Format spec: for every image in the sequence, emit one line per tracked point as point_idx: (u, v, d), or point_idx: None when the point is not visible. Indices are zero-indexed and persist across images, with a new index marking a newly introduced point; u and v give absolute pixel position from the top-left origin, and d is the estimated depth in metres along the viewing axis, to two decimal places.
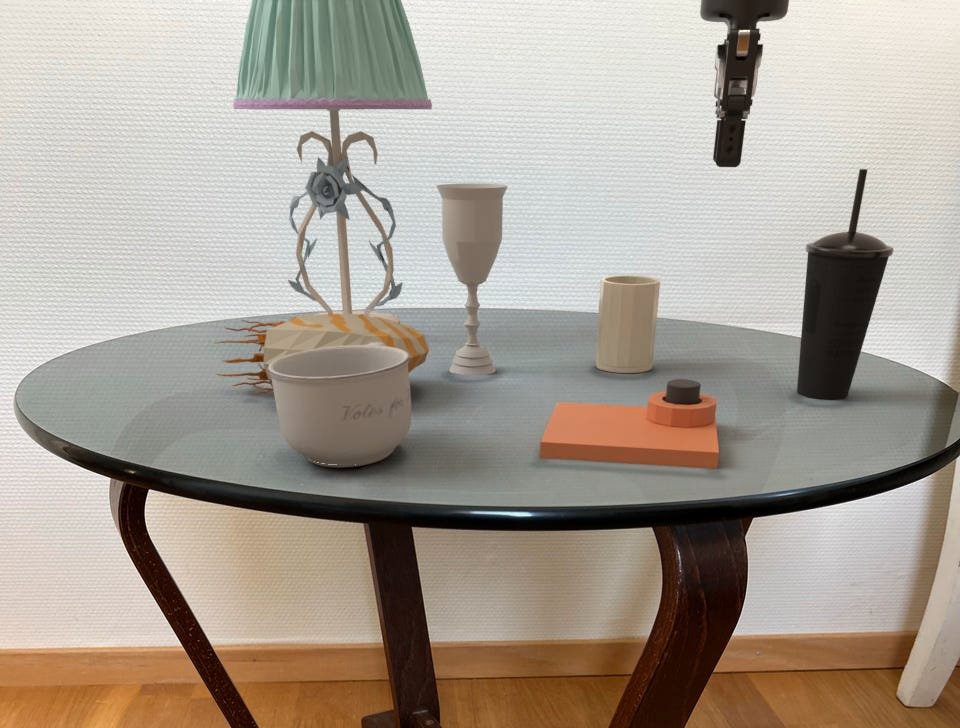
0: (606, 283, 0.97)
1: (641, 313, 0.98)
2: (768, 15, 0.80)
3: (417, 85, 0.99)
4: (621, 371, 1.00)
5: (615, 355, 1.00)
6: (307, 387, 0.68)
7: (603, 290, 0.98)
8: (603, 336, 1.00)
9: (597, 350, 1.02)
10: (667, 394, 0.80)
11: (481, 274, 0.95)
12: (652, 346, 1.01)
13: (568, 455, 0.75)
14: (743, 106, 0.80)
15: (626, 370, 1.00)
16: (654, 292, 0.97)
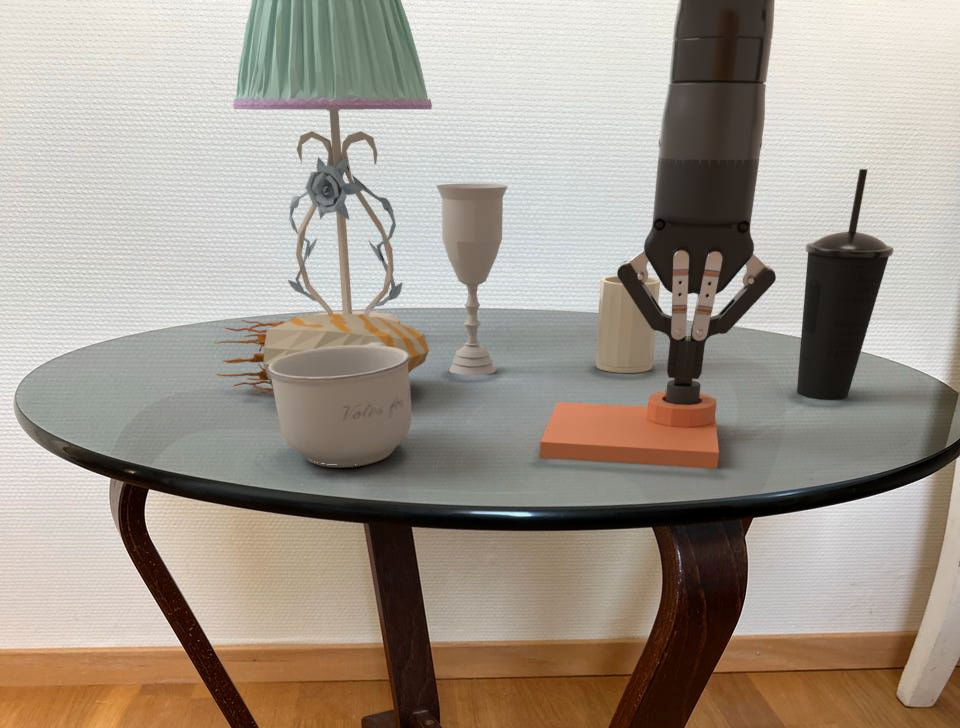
0: (606, 283, 0.97)
1: (641, 313, 0.98)
2: (669, 221, 0.72)
3: (417, 85, 0.99)
4: (621, 371, 1.00)
5: (615, 355, 1.00)
6: (307, 387, 0.68)
7: (603, 290, 0.98)
8: (603, 336, 1.00)
9: (597, 350, 1.02)
10: (667, 394, 0.80)
11: (481, 274, 0.95)
12: (652, 346, 1.01)
13: (568, 455, 0.75)
14: None
15: (626, 370, 1.00)
16: (654, 292, 0.97)
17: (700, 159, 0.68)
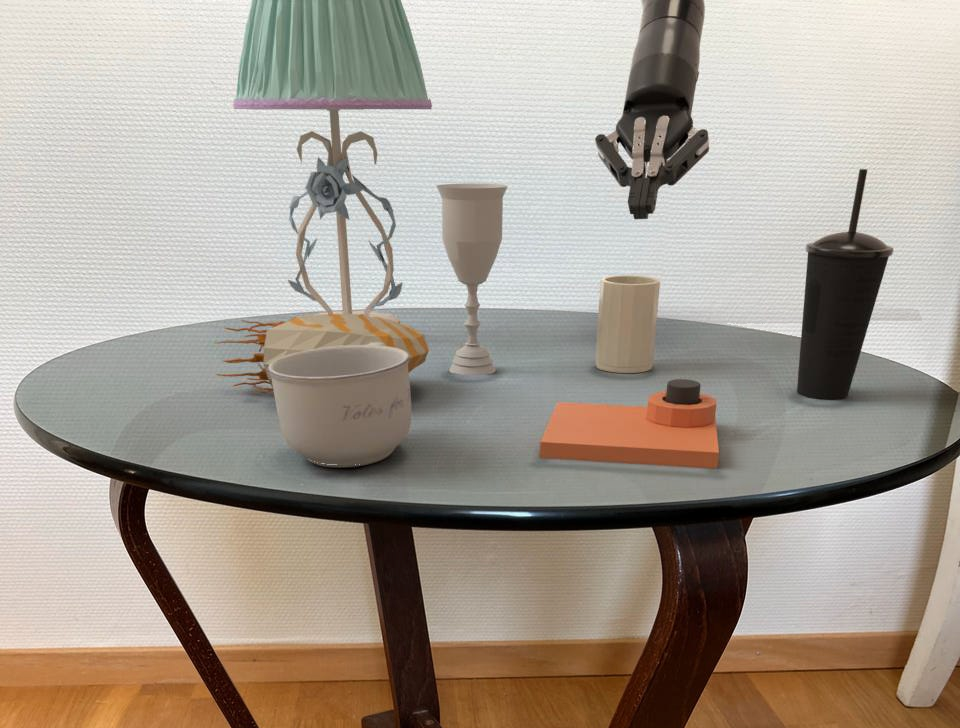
0: (606, 283, 0.97)
1: (641, 313, 0.98)
2: (632, 100, 1.03)
3: (417, 85, 0.99)
4: (621, 371, 1.00)
5: (615, 355, 1.00)
6: (307, 387, 0.68)
7: (603, 290, 0.98)
8: (603, 336, 1.00)
9: (597, 350, 1.02)
10: (667, 394, 0.80)
11: (481, 274, 0.95)
12: (652, 346, 1.01)
13: (568, 455, 0.75)
14: (617, 173, 1.03)
15: (626, 370, 1.00)
16: (654, 292, 0.97)
17: (653, 54, 1.02)
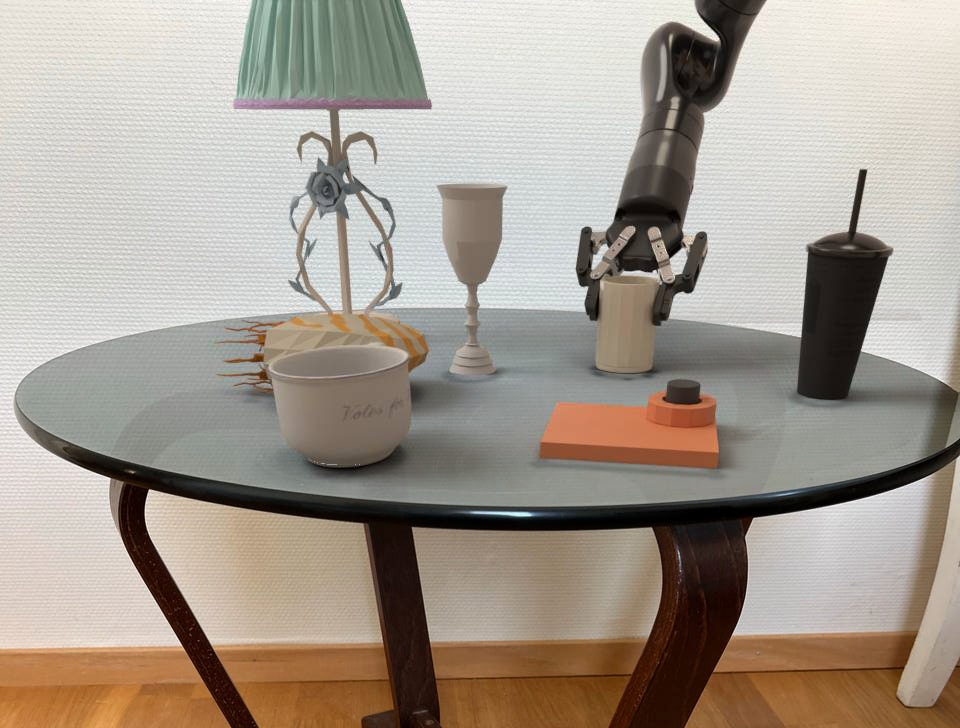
0: (606, 283, 0.97)
1: (641, 313, 0.98)
2: (624, 209, 1.01)
3: (417, 85, 0.99)
4: (621, 371, 1.00)
5: (615, 355, 1.00)
6: (307, 387, 0.68)
7: (603, 290, 0.98)
8: (603, 336, 1.00)
9: (597, 350, 1.02)
10: (667, 394, 0.80)
11: (481, 274, 0.95)
12: (652, 346, 1.01)
13: (568, 455, 0.75)
14: None
15: (626, 370, 1.00)
16: (654, 292, 0.97)
17: (647, 164, 1.00)
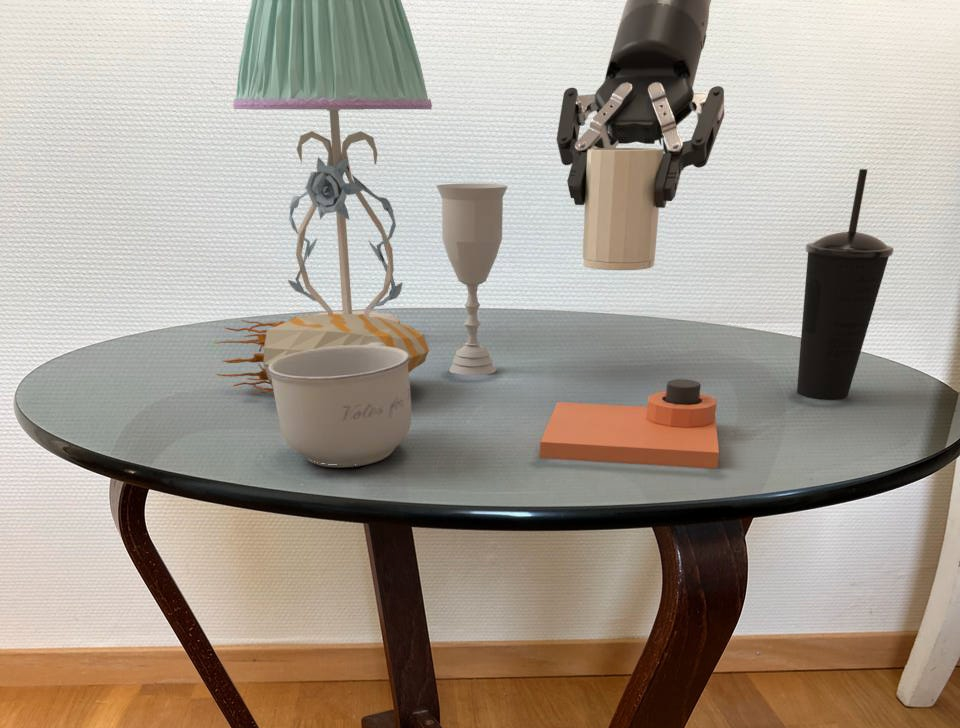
0: (594, 151, 0.76)
1: (639, 189, 0.76)
2: (617, 62, 0.79)
3: (417, 85, 0.99)
4: (614, 268, 0.79)
5: (607, 246, 0.78)
6: (307, 387, 0.68)
7: (591, 162, 0.77)
8: (591, 223, 0.79)
9: (584, 243, 0.81)
10: (667, 394, 0.80)
11: (481, 274, 0.95)
12: (654, 236, 0.79)
13: (568, 455, 0.75)
14: (558, 145, 0.80)
15: (621, 266, 0.79)
16: (656, 162, 0.76)
17: (647, 4, 0.78)
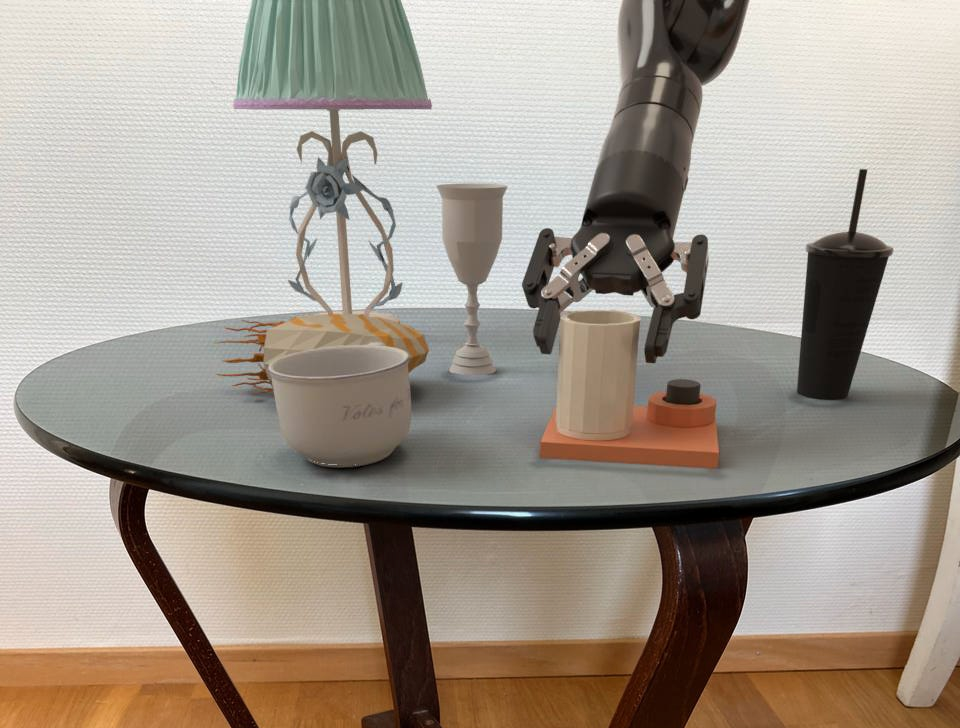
0: (567, 322, 0.72)
1: (614, 363, 0.72)
2: None
3: (417, 85, 0.99)
4: (589, 438, 0.75)
5: (581, 417, 0.74)
6: (307, 387, 0.68)
7: (564, 332, 0.73)
8: (564, 392, 0.75)
9: (557, 409, 0.77)
10: (667, 394, 0.80)
11: (481, 274, 0.95)
12: (630, 405, 0.75)
13: (568, 455, 0.75)
14: (523, 290, 0.76)
15: (595, 437, 0.75)
16: (632, 334, 0.72)
17: (626, 150, 0.74)
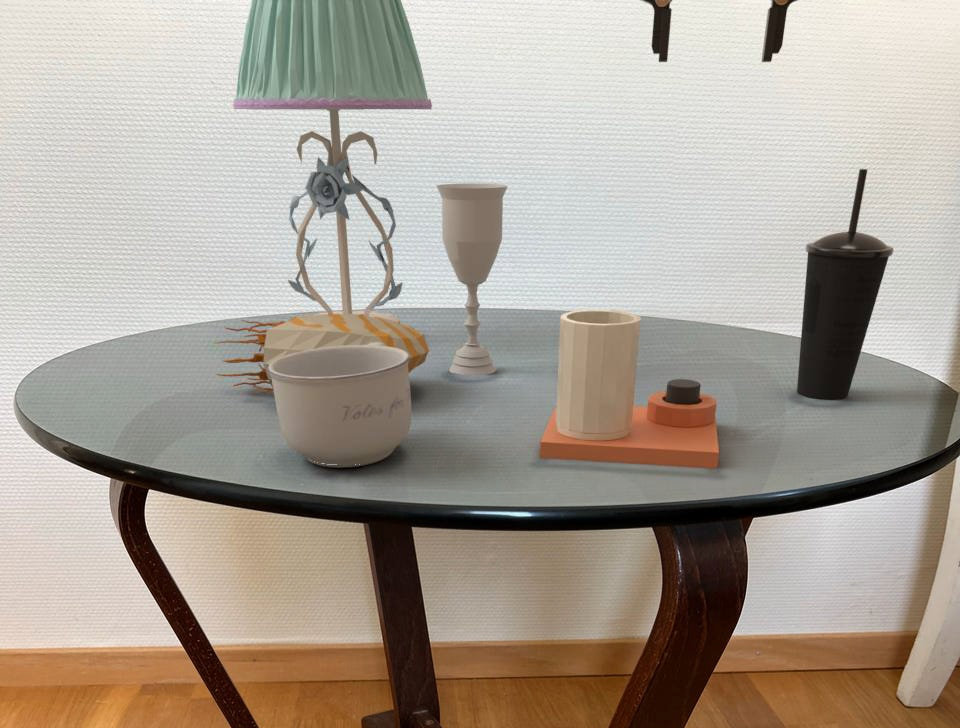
0: (567, 322, 0.72)
1: (614, 363, 0.72)
2: None
3: (417, 85, 0.99)
4: (589, 438, 0.75)
5: (581, 417, 0.74)
6: (307, 387, 0.68)
7: (564, 332, 0.73)
8: (564, 392, 0.75)
9: (557, 409, 0.77)
10: (667, 394, 0.80)
11: (481, 274, 0.95)
12: (630, 405, 0.75)
13: (568, 455, 0.75)
14: None
15: (595, 437, 0.75)
16: (632, 334, 0.72)
17: None
